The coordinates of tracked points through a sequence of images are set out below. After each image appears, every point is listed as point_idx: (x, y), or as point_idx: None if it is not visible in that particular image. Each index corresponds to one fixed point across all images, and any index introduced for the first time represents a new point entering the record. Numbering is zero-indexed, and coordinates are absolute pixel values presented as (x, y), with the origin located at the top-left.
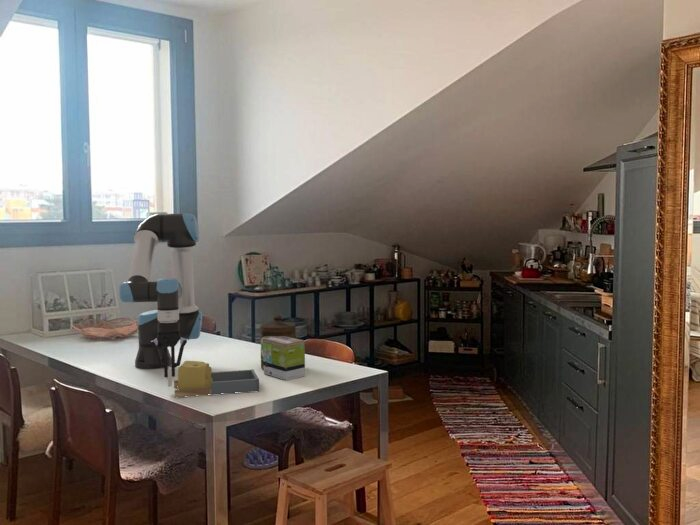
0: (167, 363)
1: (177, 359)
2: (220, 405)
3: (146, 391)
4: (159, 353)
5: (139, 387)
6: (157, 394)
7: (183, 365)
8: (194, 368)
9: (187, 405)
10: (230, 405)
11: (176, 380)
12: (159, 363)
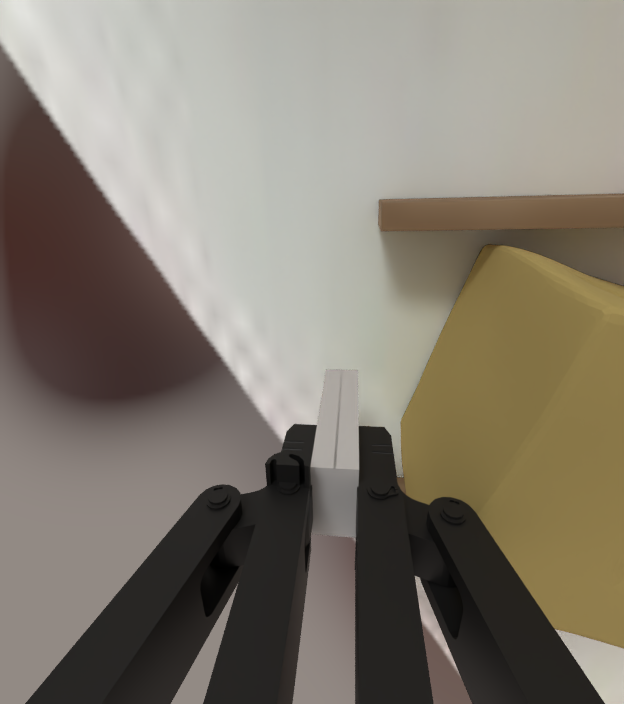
0: (304, 588)
1: (455, 579)
2: (574, 657)
3: (173, 282)
4: (129, 676)
5: (87, 126)
6: (260, 383)
7: (509, 538)
8: (601, 633)
9: (420, 612)
10: (620, 670)
11: (407, 218)
12: (204, 588)
